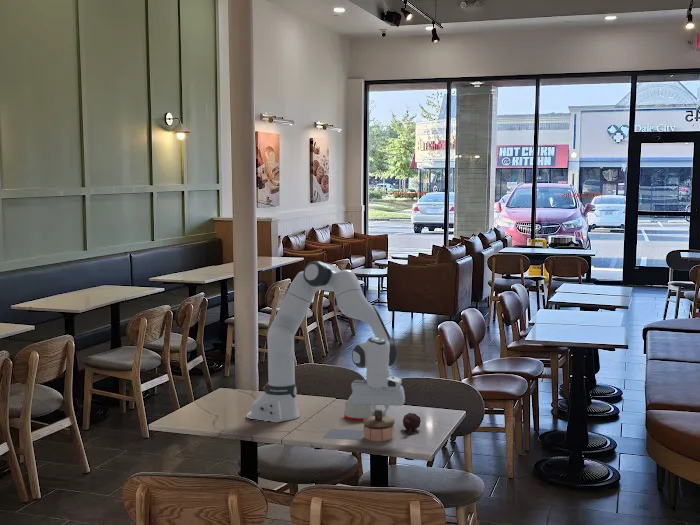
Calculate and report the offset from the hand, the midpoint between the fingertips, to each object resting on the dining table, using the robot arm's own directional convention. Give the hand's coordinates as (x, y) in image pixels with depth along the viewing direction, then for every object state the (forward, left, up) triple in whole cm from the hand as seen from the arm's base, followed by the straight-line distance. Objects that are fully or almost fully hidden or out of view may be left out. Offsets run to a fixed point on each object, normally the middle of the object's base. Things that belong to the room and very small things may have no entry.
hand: (378, 415), depth 304 cm
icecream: (+11, +13, -9) cm, 19 cm away
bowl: (0, 0, -9) cm, 9 cm away
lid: (0, 0, -3) cm, 3 cm away
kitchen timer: (-13, +27, -9) cm, 31 cm away
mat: (-14, +1, -9) cm, 16 cm away
